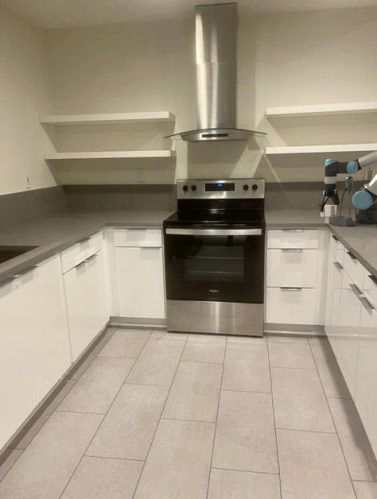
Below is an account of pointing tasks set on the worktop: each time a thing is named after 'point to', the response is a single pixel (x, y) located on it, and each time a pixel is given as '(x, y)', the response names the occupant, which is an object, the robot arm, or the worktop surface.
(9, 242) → the worktop surface
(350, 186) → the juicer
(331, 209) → the plug
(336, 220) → the socket block
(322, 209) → the robot arm
